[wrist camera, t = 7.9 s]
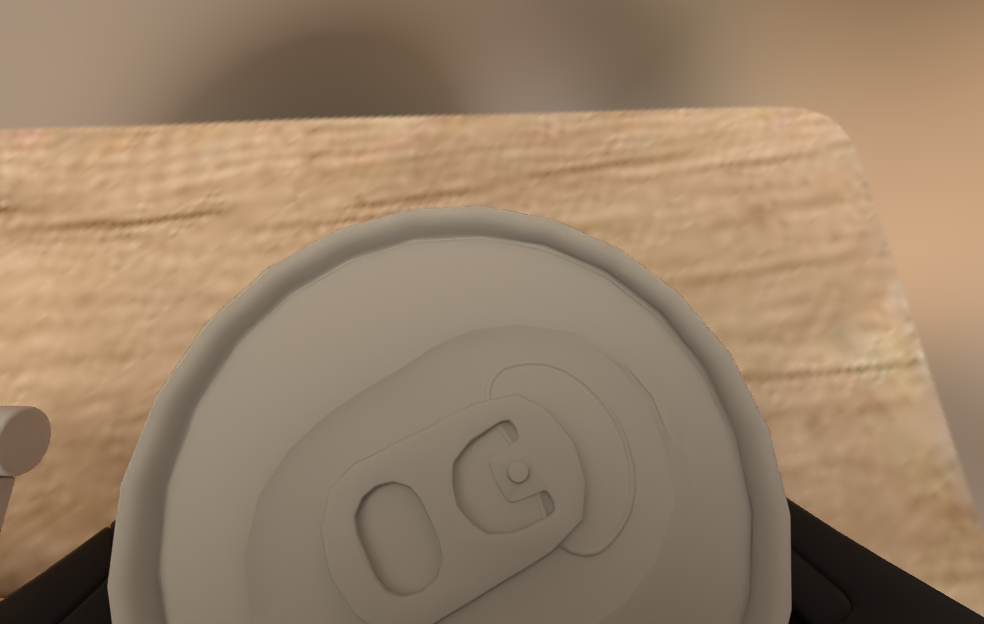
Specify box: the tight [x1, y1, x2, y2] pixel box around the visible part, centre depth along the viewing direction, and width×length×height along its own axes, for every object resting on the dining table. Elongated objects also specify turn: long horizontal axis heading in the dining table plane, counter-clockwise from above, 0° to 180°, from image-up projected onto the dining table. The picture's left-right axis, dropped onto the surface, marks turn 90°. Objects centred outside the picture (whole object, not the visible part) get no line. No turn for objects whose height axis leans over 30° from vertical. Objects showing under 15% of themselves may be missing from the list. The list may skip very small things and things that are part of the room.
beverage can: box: [107, 206, 792, 624], centre depth 9 cm, size 5×5×12 cm
